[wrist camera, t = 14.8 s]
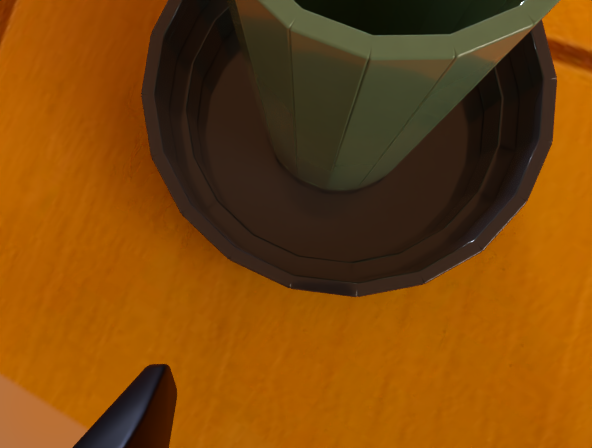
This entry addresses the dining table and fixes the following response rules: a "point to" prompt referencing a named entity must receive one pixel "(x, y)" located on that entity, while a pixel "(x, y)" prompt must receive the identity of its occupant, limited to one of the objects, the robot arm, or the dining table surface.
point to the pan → (339, 204)
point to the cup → (367, 75)
